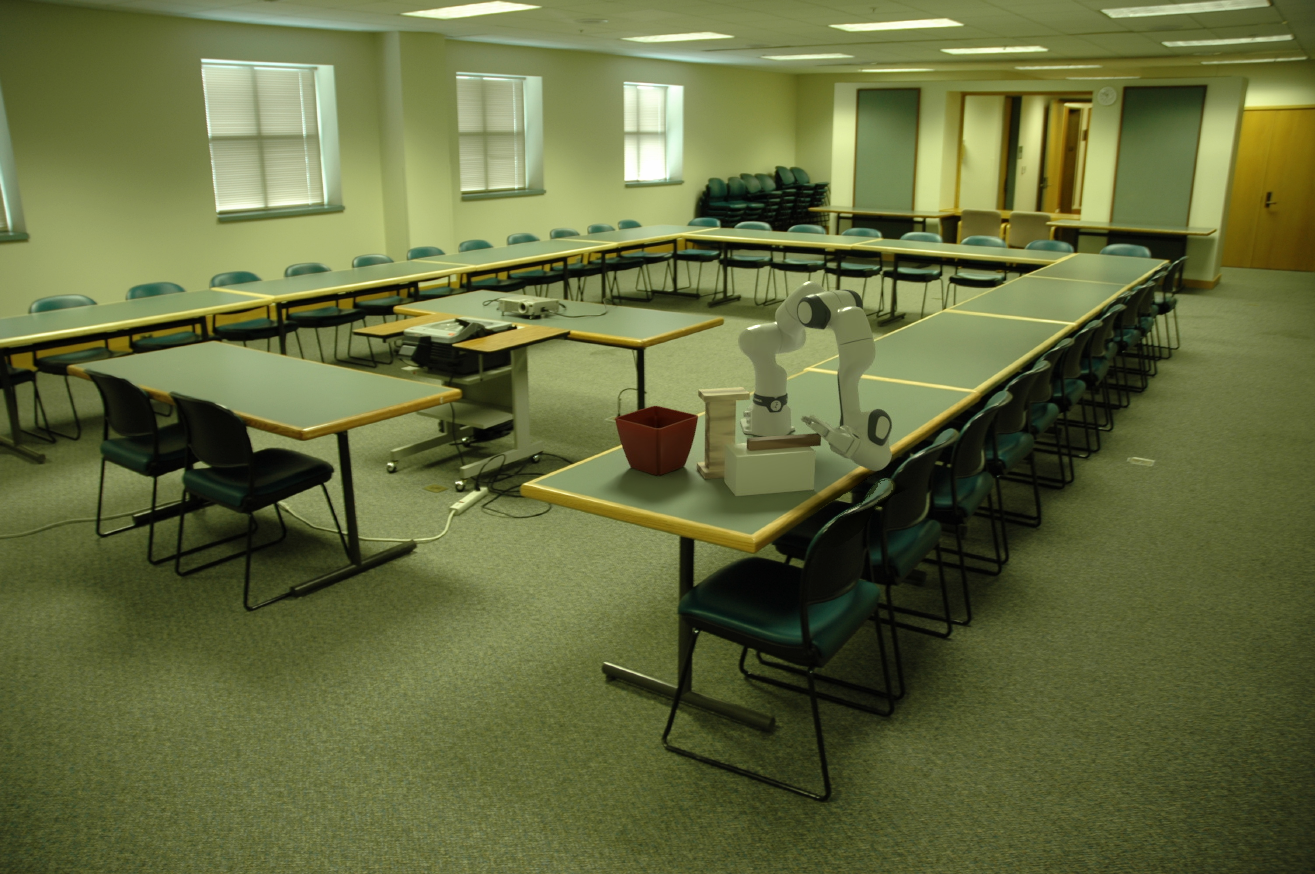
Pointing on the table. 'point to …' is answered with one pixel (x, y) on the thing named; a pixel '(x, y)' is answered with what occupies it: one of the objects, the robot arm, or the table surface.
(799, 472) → the white rectangular block
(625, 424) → the plant pot
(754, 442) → the walnut bar
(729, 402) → the wooden i-beam pillar
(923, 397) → the table surface
